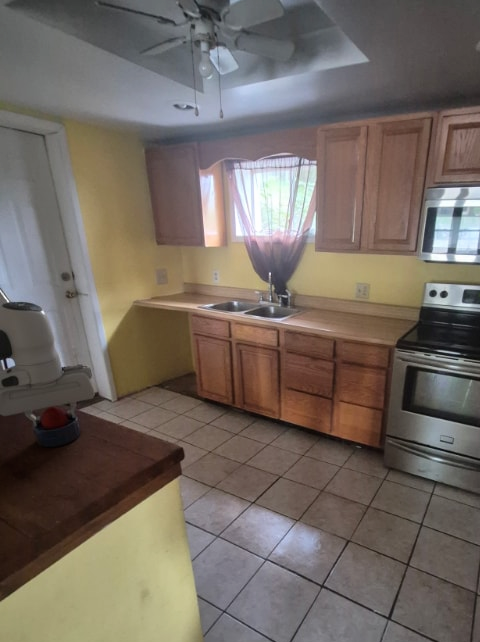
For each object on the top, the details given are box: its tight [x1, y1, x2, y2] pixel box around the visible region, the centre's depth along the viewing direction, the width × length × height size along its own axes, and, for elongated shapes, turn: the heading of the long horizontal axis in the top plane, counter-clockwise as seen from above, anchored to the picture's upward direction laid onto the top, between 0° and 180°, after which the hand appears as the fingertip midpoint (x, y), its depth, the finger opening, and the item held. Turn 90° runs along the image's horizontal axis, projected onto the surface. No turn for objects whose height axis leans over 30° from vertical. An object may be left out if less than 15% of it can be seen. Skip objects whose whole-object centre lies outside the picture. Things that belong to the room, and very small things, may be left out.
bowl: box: [31, 412, 82, 448], centre depth 95 cm, size 10×10×5 cm
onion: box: [40, 406, 69, 430], centre depth 94 cm, size 6×6×8 cm
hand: (55, 421), depth 94 cm, fingers closed on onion, 6 cm apart
